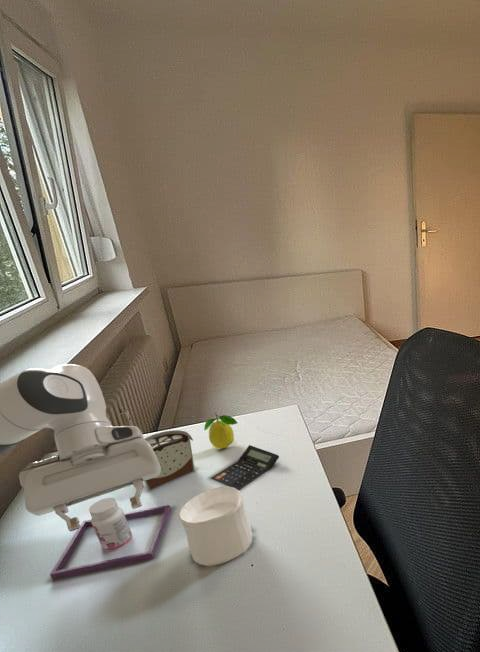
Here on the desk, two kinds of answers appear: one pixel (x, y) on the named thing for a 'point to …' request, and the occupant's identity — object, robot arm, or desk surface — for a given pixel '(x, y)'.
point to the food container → (171, 456)
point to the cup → (216, 526)
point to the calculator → (247, 468)
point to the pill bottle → (110, 524)
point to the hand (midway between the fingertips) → (106, 517)
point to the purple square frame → (60, 573)
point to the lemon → (221, 431)
